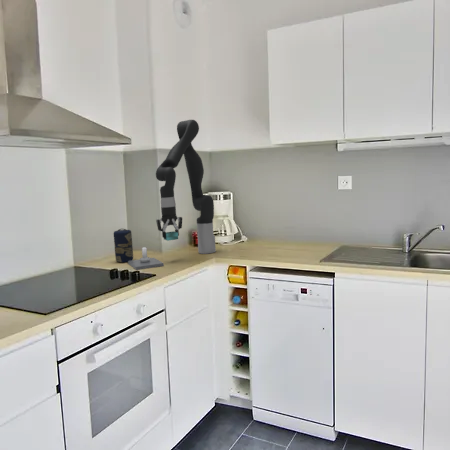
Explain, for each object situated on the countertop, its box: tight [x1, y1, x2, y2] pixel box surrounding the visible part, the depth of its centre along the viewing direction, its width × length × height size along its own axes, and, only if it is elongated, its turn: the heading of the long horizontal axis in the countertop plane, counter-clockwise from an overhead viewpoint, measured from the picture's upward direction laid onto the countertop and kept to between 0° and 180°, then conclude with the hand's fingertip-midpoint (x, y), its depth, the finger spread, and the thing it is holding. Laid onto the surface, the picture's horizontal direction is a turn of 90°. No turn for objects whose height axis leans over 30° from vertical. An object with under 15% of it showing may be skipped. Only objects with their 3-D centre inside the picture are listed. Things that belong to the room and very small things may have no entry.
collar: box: [163, 230, 179, 242], centre depth 221 cm, size 6×6×4 cm
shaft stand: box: [127, 246, 165, 271], centre depth 217 cm, size 14×18×9 cm
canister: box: [113, 228, 134, 263], centre depth 229 cm, size 10×10×18 cm
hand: (170, 237), depth 222 cm, fingers closed on collar, 6 cm apart
